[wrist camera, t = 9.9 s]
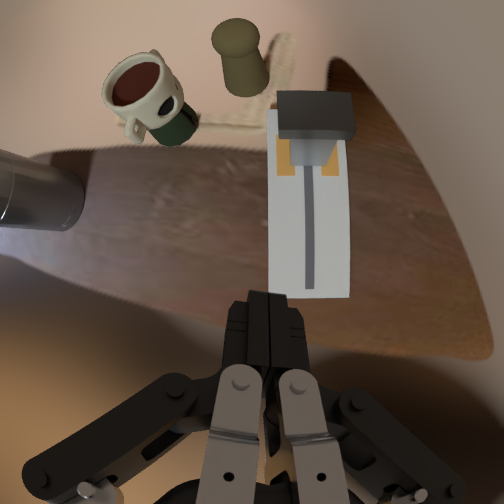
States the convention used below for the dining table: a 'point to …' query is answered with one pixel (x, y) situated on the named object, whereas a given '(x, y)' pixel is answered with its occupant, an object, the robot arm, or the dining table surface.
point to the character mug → (149, 100)
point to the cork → (240, 57)
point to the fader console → (307, 222)
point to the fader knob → (314, 124)
